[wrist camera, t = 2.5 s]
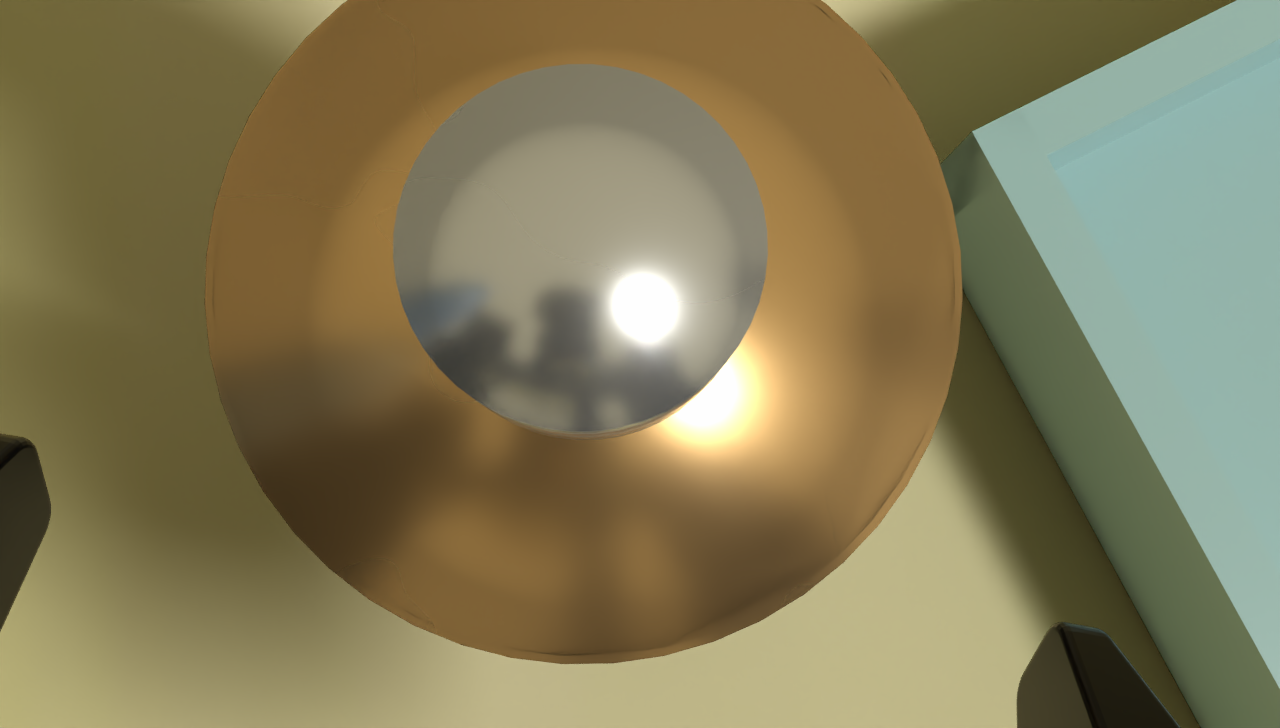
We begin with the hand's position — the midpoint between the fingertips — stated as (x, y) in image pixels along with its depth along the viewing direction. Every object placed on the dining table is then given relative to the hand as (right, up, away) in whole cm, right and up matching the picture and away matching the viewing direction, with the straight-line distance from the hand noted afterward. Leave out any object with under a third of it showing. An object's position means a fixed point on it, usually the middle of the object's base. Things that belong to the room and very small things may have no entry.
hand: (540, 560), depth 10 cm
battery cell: (0, +1, +10) cm, 10 cm away
